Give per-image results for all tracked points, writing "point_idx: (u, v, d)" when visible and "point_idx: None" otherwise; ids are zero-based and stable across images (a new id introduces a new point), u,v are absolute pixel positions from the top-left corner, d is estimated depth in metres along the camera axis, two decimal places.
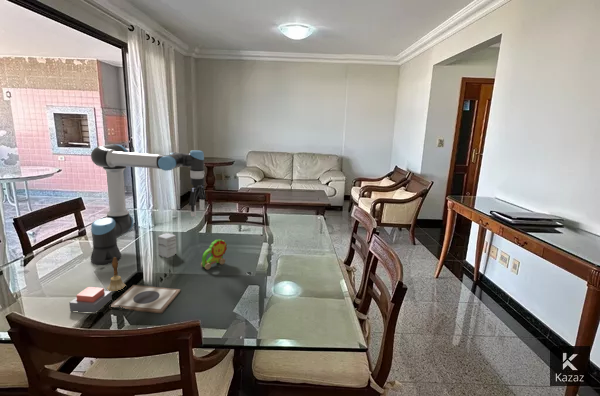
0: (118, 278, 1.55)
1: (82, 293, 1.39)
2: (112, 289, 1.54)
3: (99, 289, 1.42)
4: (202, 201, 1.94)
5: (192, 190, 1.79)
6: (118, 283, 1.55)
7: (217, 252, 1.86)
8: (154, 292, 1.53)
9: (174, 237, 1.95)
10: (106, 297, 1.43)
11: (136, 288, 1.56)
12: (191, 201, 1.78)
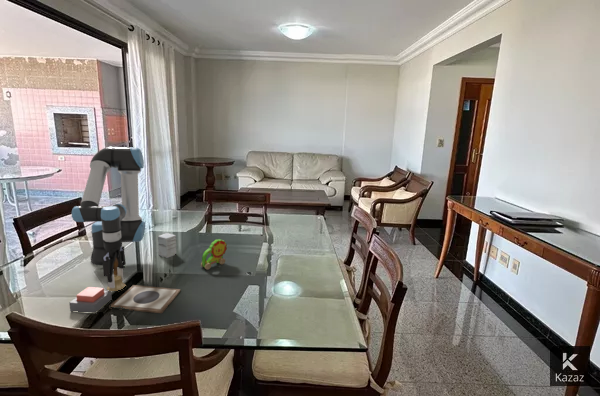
0: (118, 278, 1.55)
1: (82, 293, 1.39)
2: (112, 289, 1.54)
3: (99, 289, 1.42)
4: (120, 270, 1.59)
5: (104, 259, 1.47)
6: (118, 283, 1.55)
7: (217, 252, 1.86)
8: (154, 292, 1.53)
9: (174, 237, 1.95)
10: (106, 297, 1.43)
11: (136, 288, 1.56)
12: (106, 272, 1.48)
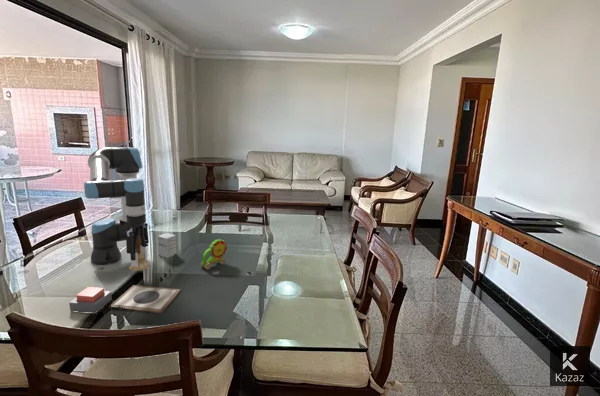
0: (141, 256, 1.45)
1: (82, 293, 1.39)
2: (134, 268, 1.43)
3: (99, 289, 1.42)
4: (143, 249, 1.48)
5: (127, 235, 1.36)
6: (141, 262, 1.45)
7: (217, 252, 1.86)
8: (154, 292, 1.53)
9: (174, 237, 1.95)
10: (106, 297, 1.43)
11: (136, 288, 1.56)
12: (129, 249, 1.38)
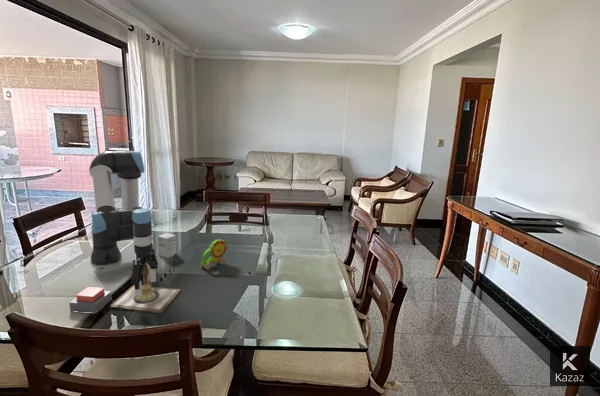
0: (148, 287, 1.47)
1: (82, 293, 1.39)
2: (142, 299, 1.46)
3: (99, 289, 1.42)
4: (152, 271, 1.53)
5: (135, 263, 1.38)
6: (149, 292, 1.47)
7: (217, 252, 1.86)
8: (154, 292, 1.53)
9: (174, 237, 1.95)
10: (106, 297, 1.43)
11: None
12: (134, 278, 1.37)
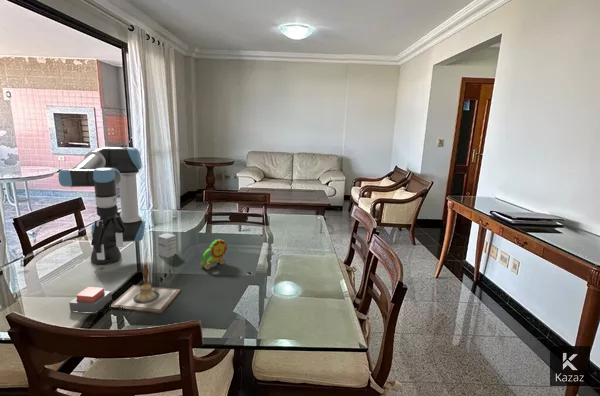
0: (148, 287, 1.47)
1: (82, 293, 1.39)
2: (142, 299, 1.46)
3: (99, 289, 1.42)
4: (119, 235, 1.44)
5: (97, 224, 1.29)
6: (149, 292, 1.47)
7: (217, 252, 1.86)
8: (154, 292, 1.53)
9: (174, 237, 1.95)
10: (106, 297, 1.43)
11: (136, 288, 1.56)
12: (95, 240, 1.28)
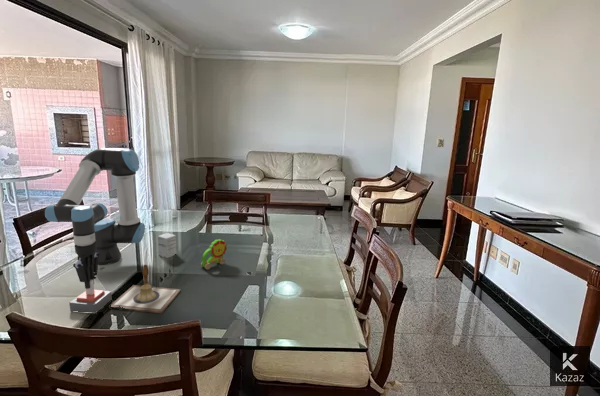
0: (148, 287, 1.47)
1: (82, 295, 1.39)
2: (142, 299, 1.46)
3: (99, 291, 1.43)
4: None
5: (76, 267, 1.31)
6: (149, 292, 1.47)
7: (217, 252, 1.86)
8: (154, 292, 1.53)
9: (174, 237, 1.95)
10: (106, 297, 1.43)
11: (136, 288, 1.56)
12: (81, 278, 1.34)
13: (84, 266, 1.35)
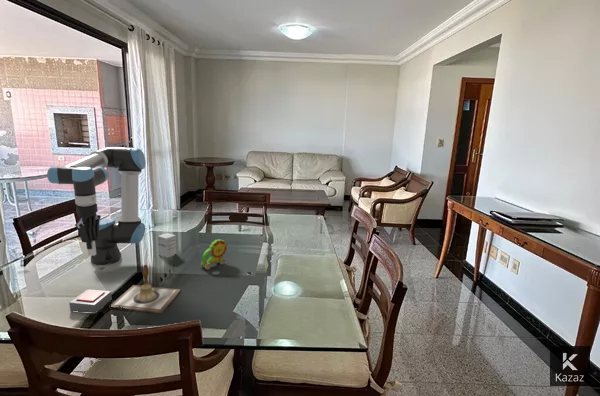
0: (148, 287, 1.47)
1: (82, 297, 1.39)
2: (142, 299, 1.46)
3: (99, 293, 1.43)
4: None
5: (78, 227, 1.33)
6: (149, 292, 1.47)
7: (217, 252, 1.86)
8: (154, 292, 1.53)
9: (174, 237, 1.95)
10: (106, 297, 1.43)
11: (136, 288, 1.56)
12: (83, 238, 1.37)
13: (86, 227, 1.38)
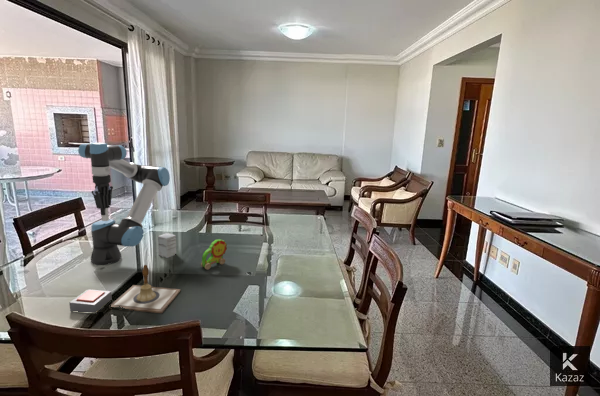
0: (148, 287, 1.47)
1: (82, 297, 1.39)
2: (142, 299, 1.46)
3: (99, 293, 1.43)
4: None
5: (94, 194, 1.54)
6: (149, 292, 1.47)
7: (217, 252, 1.86)
8: (154, 292, 1.53)
9: (174, 237, 1.95)
10: (106, 297, 1.43)
11: (136, 288, 1.56)
12: (98, 205, 1.58)
13: (100, 195, 1.59)
